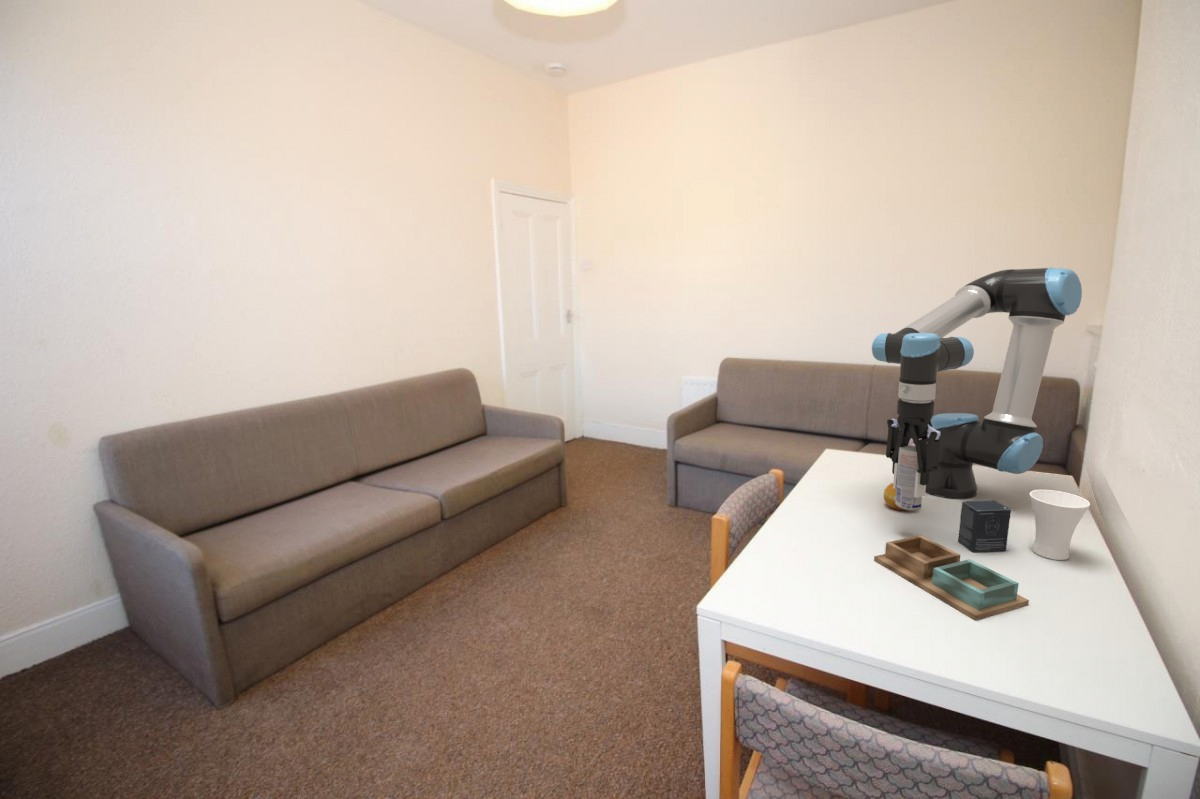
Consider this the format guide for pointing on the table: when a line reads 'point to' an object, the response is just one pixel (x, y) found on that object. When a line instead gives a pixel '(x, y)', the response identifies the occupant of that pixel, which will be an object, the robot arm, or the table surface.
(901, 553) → the socket board
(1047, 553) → the cup
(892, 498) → the fruit
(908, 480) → the beverage can
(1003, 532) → the box
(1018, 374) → the robot arm
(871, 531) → the table surface
